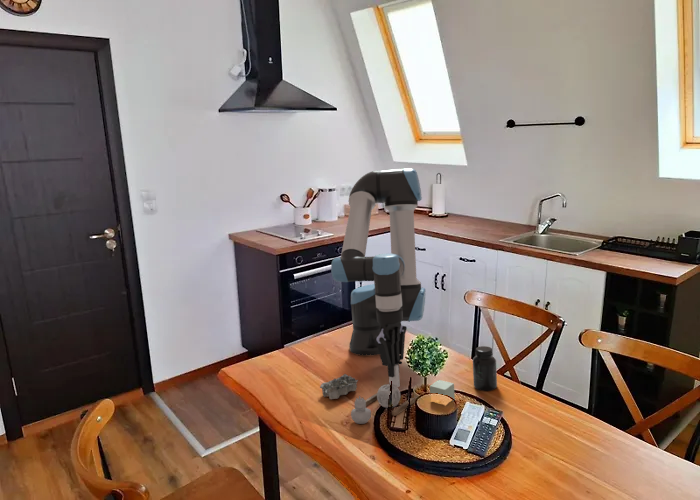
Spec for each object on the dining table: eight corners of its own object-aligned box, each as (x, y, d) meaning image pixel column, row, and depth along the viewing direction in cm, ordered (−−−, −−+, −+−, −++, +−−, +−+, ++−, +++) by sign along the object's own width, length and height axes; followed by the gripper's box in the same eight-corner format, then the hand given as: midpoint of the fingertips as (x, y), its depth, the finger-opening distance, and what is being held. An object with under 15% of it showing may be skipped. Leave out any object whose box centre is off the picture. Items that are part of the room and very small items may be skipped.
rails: (383, 393, 152) (382, 389, 152) (415, 402, 144) (414, 398, 144) (362, 405, 145) (362, 401, 144) (394, 416, 137) (394, 412, 137)
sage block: (439, 395, 147) (438, 379, 147) (454, 399, 144) (453, 383, 143) (430, 402, 144) (429, 385, 143) (445, 406, 140) (444, 389, 140)
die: (387, 398, 148) (386, 382, 147) (401, 402, 145) (400, 386, 144) (377, 405, 144) (376, 389, 143) (391, 409, 141) (390, 392, 140)
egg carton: (332, 401, 147) (330, 388, 147) (319, 395, 154) (317, 382, 153) (361, 389, 153) (359, 376, 153) (347, 383, 159) (345, 371, 159)
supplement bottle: (488, 380, 155) (487, 343, 153) (501, 388, 149) (500, 350, 147) (469, 384, 153) (467, 347, 152) (481, 393, 147) (480, 354, 145)
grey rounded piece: (350, 427, 133) (348, 399, 131) (352, 415, 139) (350, 388, 138) (370, 427, 132) (368, 398, 131) (372, 415, 138) (370, 388, 137)
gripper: (391, 301, 150) (397, 375, 153) (364, 312, 140) (371, 391, 144) (412, 303, 145) (417, 380, 148) (386, 315, 135) (392, 397, 139)
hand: (394, 385), depth 146 cm, fingers closed
